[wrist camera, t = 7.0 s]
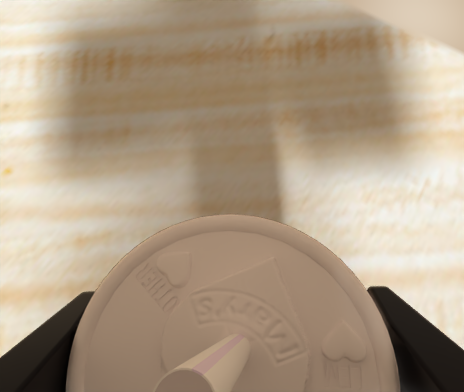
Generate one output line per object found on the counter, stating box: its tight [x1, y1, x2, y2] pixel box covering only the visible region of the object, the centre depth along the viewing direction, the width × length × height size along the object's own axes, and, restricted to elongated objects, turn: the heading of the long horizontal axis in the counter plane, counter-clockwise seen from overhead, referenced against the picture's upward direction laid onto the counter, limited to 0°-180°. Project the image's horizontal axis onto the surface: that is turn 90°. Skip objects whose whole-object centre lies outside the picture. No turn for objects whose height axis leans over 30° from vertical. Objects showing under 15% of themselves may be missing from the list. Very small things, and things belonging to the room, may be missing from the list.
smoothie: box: [66, 214, 400, 392], centre depth 10 cm, size 6×6×14 cm
